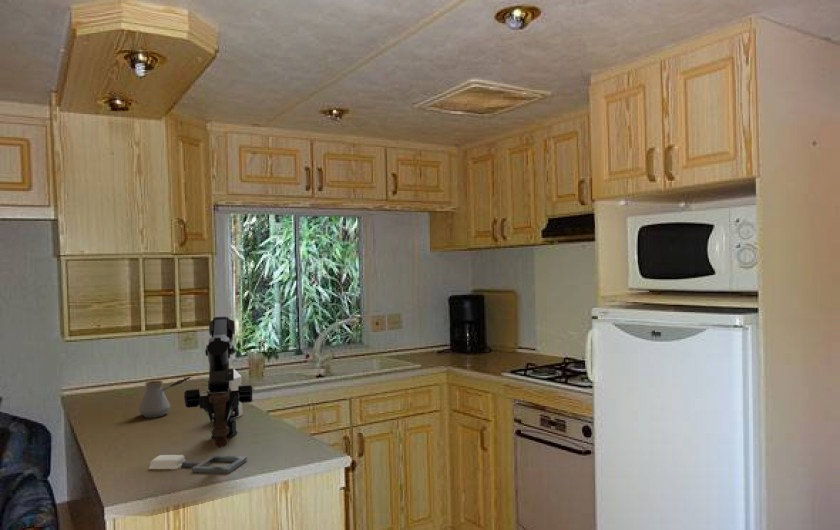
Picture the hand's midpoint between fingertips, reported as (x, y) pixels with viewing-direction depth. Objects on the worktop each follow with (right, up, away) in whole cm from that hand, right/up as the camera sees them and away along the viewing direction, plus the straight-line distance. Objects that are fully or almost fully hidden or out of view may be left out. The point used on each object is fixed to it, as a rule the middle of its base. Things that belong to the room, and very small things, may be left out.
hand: (219, 421), depth 173 cm
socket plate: (-3, -13, +2) cm, 14 cm away
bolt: (0, -8, +2) cm, 8 cm away
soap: (-16, -14, +3) cm, 22 cm away
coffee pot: (-42, -15, +65) cm, 79 cm away
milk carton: (-16, -14, +59) cm, 63 cm away
